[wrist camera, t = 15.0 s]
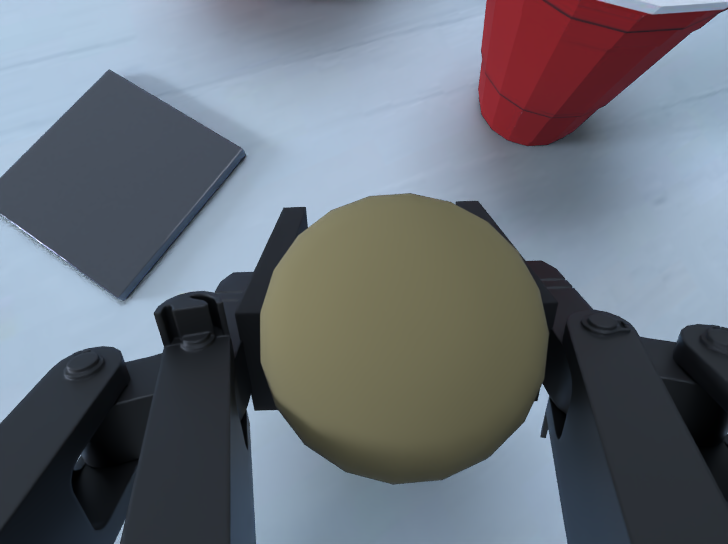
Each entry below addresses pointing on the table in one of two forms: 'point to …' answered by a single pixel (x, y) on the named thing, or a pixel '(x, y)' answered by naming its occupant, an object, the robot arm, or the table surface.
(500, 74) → the plastic cup
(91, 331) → the table surface
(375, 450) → the cork
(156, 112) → the slate coaster
